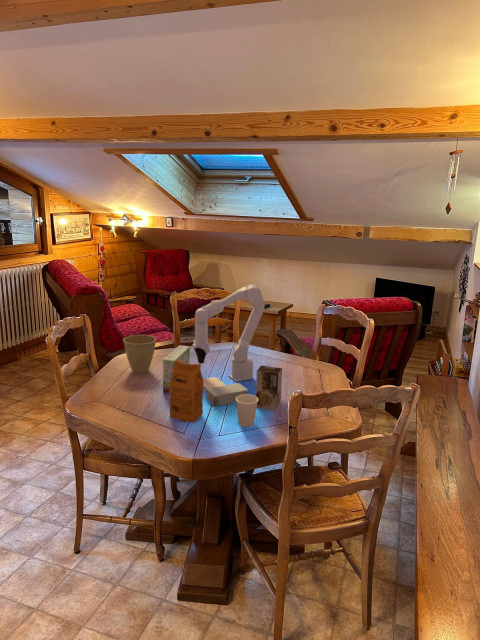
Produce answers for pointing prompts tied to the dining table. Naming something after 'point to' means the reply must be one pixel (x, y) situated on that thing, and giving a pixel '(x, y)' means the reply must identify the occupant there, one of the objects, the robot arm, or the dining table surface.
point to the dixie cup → (246, 409)
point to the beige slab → (225, 394)
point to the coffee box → (268, 387)
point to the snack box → (178, 354)
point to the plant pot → (140, 352)
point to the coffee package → (186, 392)
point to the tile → (211, 383)
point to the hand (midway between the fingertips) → (201, 363)
